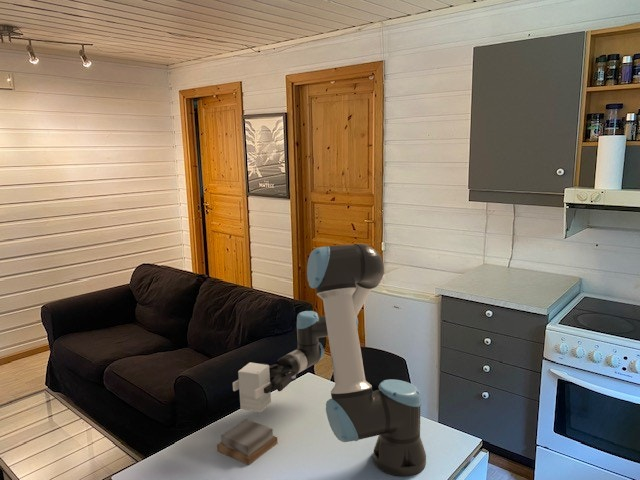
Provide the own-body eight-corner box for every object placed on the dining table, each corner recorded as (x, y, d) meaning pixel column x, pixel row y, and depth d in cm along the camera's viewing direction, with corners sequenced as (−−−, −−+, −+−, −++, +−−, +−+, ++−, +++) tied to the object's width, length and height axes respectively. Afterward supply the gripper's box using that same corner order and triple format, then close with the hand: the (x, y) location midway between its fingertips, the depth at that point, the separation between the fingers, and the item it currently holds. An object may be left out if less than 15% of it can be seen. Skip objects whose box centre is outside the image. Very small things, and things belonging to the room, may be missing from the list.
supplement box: (271, 402, 155) (270, 364, 153) (260, 413, 148) (258, 374, 146) (251, 398, 157) (249, 361, 155) (239, 409, 151) (237, 370, 149)
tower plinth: (277, 443, 151) (277, 428, 150) (249, 465, 140) (248, 449, 140) (246, 430, 158) (246, 416, 157) (217, 450, 148) (216, 435, 147)
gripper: (316, 382, 160) (271, 411, 142) (268, 368, 173) (220, 393, 154) (316, 361, 159) (270, 387, 141) (267, 347, 171) (219, 371, 153)
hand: (244, 390), depth 148 cm, fingers closed on supplement box, 8 cm apart
